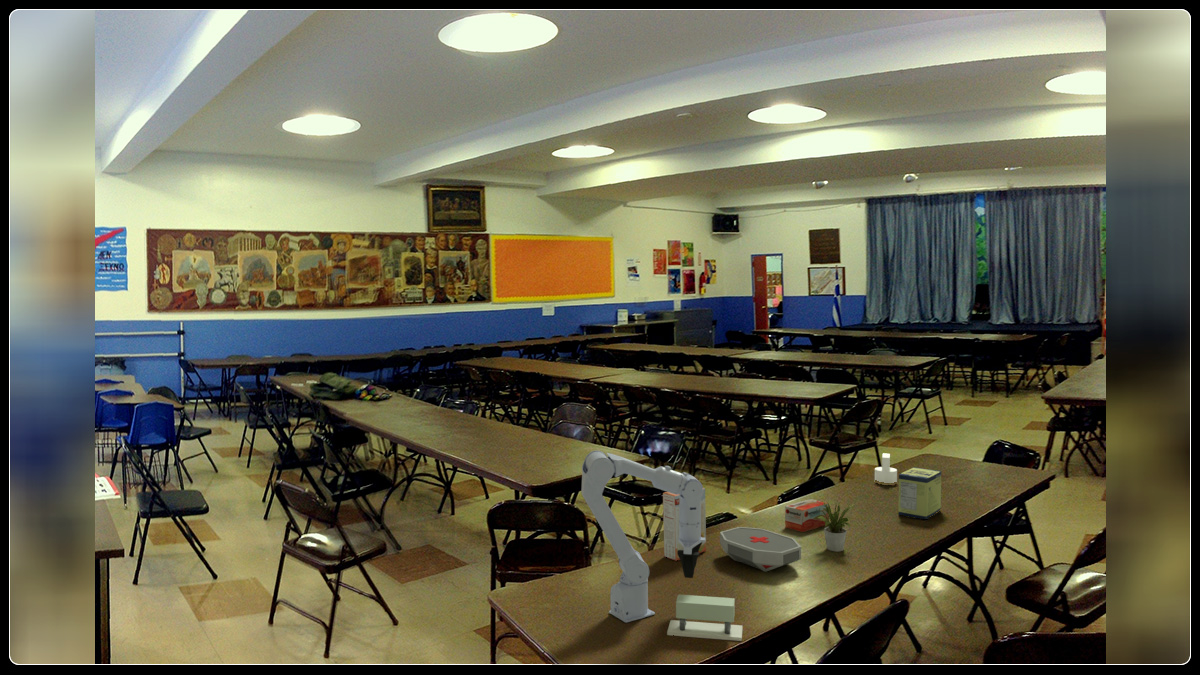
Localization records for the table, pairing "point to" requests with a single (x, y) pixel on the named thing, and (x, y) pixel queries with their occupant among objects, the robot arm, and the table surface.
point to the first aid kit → (760, 547)
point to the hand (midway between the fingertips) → (690, 572)
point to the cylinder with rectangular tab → (886, 471)
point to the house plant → (835, 528)
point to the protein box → (919, 493)
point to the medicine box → (805, 515)
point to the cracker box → (673, 525)
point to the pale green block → (705, 608)
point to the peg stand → (705, 630)
